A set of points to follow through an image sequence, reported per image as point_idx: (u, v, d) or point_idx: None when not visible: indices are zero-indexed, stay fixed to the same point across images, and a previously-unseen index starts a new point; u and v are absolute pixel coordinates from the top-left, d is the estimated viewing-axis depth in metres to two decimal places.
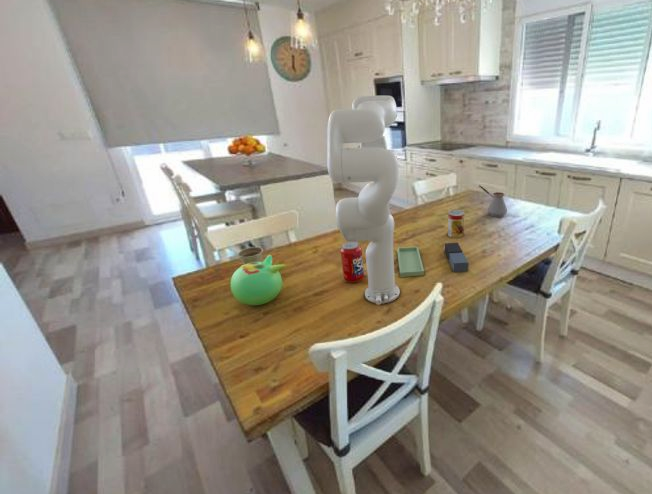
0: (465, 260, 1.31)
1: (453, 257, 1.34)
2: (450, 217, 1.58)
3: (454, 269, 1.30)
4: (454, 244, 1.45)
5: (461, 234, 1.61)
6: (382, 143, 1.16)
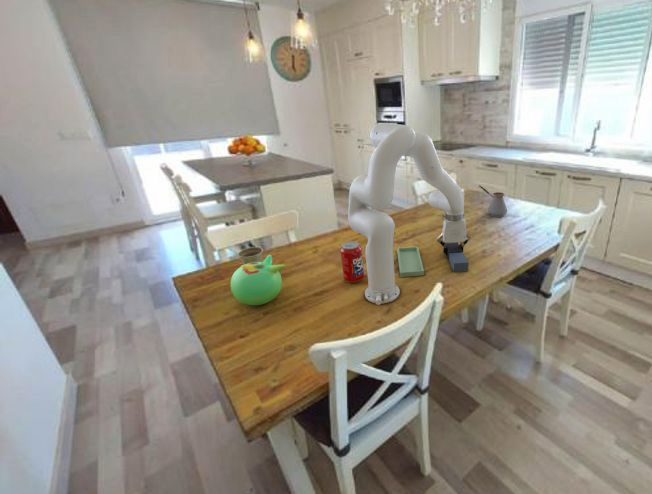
0: (465, 260, 1.31)
1: (453, 257, 1.34)
2: None
3: (454, 269, 1.30)
4: (454, 244, 1.45)
5: None
6: (463, 225, 1.36)
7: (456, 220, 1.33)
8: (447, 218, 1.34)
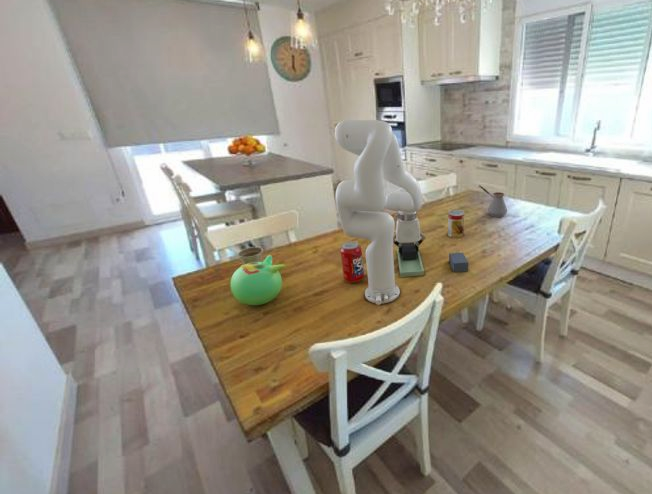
0: (465, 260, 1.31)
1: (453, 257, 1.34)
2: (450, 217, 1.58)
3: (454, 269, 1.30)
4: (410, 244, 1.43)
5: (461, 234, 1.61)
6: (416, 225, 1.34)
7: (408, 219, 1.31)
8: (399, 217, 1.33)
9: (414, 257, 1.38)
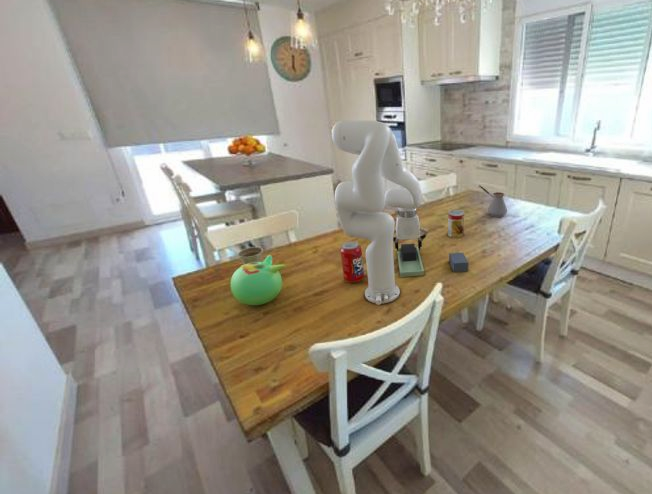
0: (465, 260, 1.31)
1: (453, 257, 1.34)
2: (450, 217, 1.58)
3: (454, 269, 1.30)
4: (410, 245, 1.43)
5: (461, 234, 1.61)
6: (416, 222, 1.33)
7: (408, 216, 1.31)
8: (399, 214, 1.32)
9: (414, 258, 1.38)
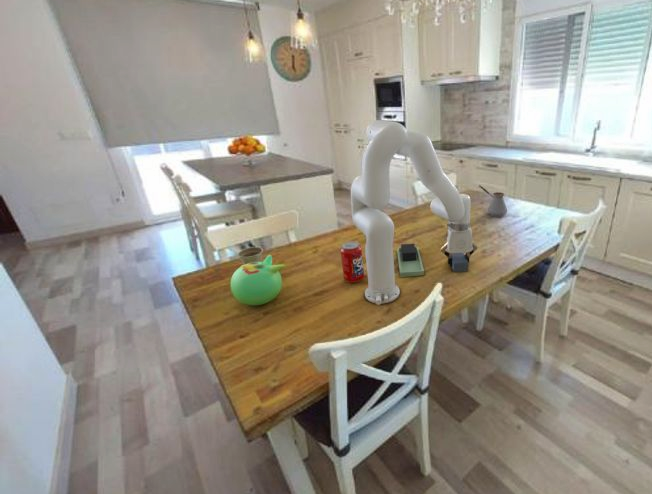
0: (465, 260, 1.31)
1: (453, 257, 1.34)
2: None
3: (454, 269, 1.30)
4: (410, 245, 1.43)
5: None
6: (469, 235, 1.27)
7: (462, 229, 1.24)
8: (452, 227, 1.25)
9: (414, 258, 1.38)
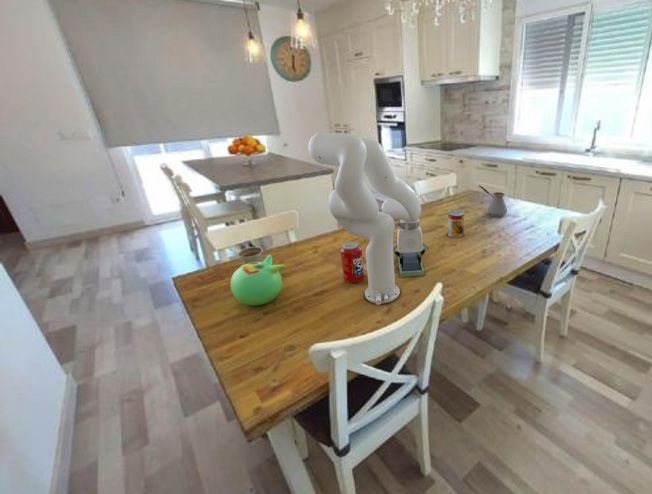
0: (416, 260, 1.29)
1: (405, 256, 1.32)
2: (450, 217, 1.58)
3: (404, 269, 1.28)
4: None
5: (461, 234, 1.61)
6: (418, 234, 1.25)
7: (410, 228, 1.22)
8: (401, 226, 1.23)
9: None
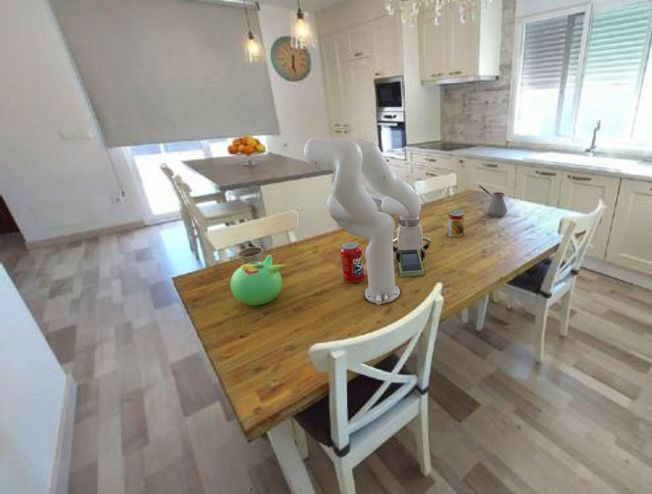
0: (416, 261, 1.29)
1: (405, 258, 1.32)
2: (450, 217, 1.58)
3: (405, 270, 1.29)
4: None
5: (461, 234, 1.61)
6: (418, 231, 1.24)
7: (410, 226, 1.22)
8: (401, 223, 1.23)
9: None
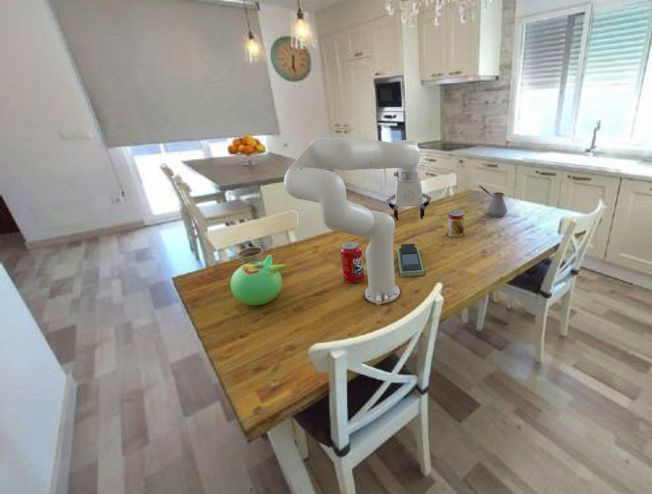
0: (416, 261, 1.29)
1: (405, 258, 1.32)
2: (450, 217, 1.58)
3: (405, 270, 1.29)
4: (410, 245, 1.43)
5: (461, 234, 1.61)
6: (418, 185, 1.17)
7: (409, 178, 1.14)
8: (399, 176, 1.16)
9: None
